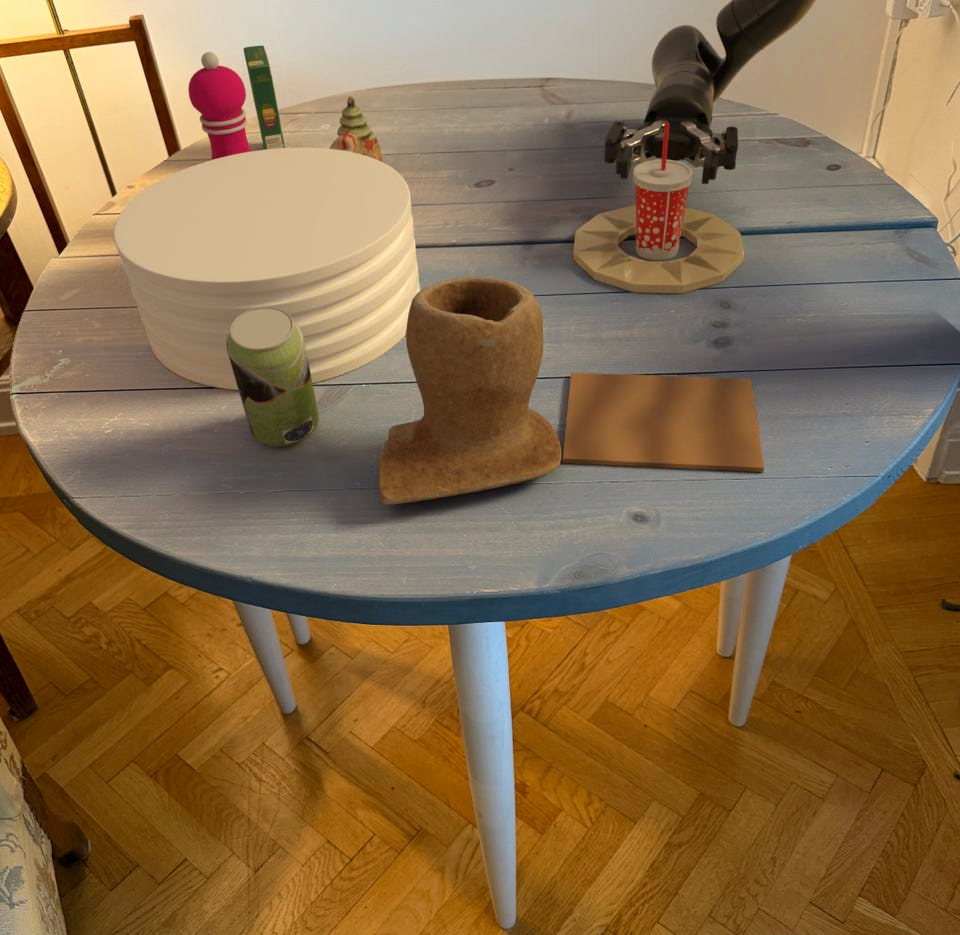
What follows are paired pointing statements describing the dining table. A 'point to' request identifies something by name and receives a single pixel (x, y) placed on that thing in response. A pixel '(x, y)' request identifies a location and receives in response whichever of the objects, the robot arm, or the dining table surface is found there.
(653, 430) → the cork mat
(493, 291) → the stone cup
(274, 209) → the plate stack
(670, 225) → the beverage cup
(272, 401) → the beverage can
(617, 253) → the tan faceted ring
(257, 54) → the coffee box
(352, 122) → the ornament
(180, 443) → the dining table surface
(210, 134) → the pepper mill
